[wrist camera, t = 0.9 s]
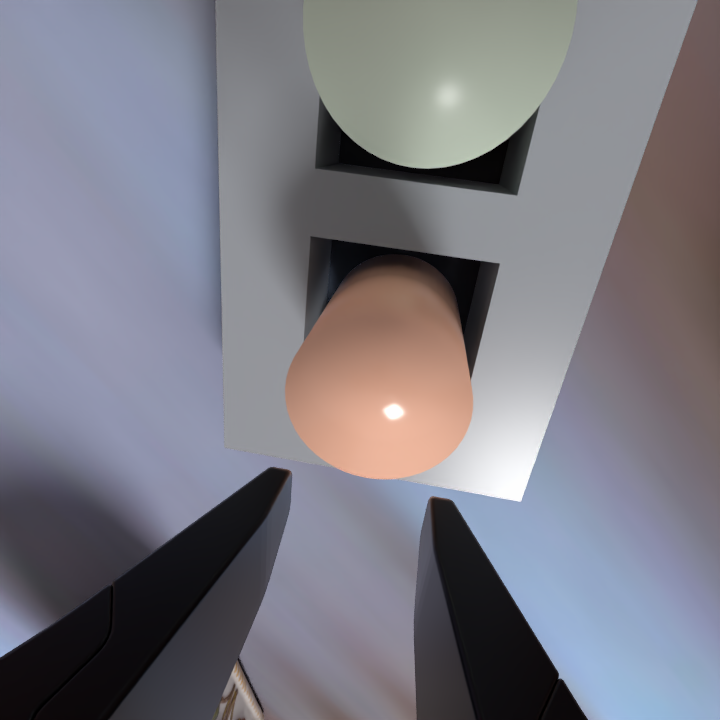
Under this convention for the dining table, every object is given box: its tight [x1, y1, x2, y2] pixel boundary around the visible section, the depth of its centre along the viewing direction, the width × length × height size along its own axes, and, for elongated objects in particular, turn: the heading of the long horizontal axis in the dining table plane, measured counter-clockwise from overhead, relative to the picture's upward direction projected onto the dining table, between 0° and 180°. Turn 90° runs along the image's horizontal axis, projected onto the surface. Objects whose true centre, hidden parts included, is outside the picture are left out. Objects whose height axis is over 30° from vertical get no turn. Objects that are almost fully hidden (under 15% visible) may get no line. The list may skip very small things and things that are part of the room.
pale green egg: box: [303, 0, 578, 169], centre depth 11 cm, size 5×5×6 cm
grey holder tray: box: [215, 0, 697, 502], centre depth 14 cm, size 12×28×4 cm, turn 174°
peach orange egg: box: [285, 254, 473, 479], centre depth 15 cm, size 5×5×6 cm
